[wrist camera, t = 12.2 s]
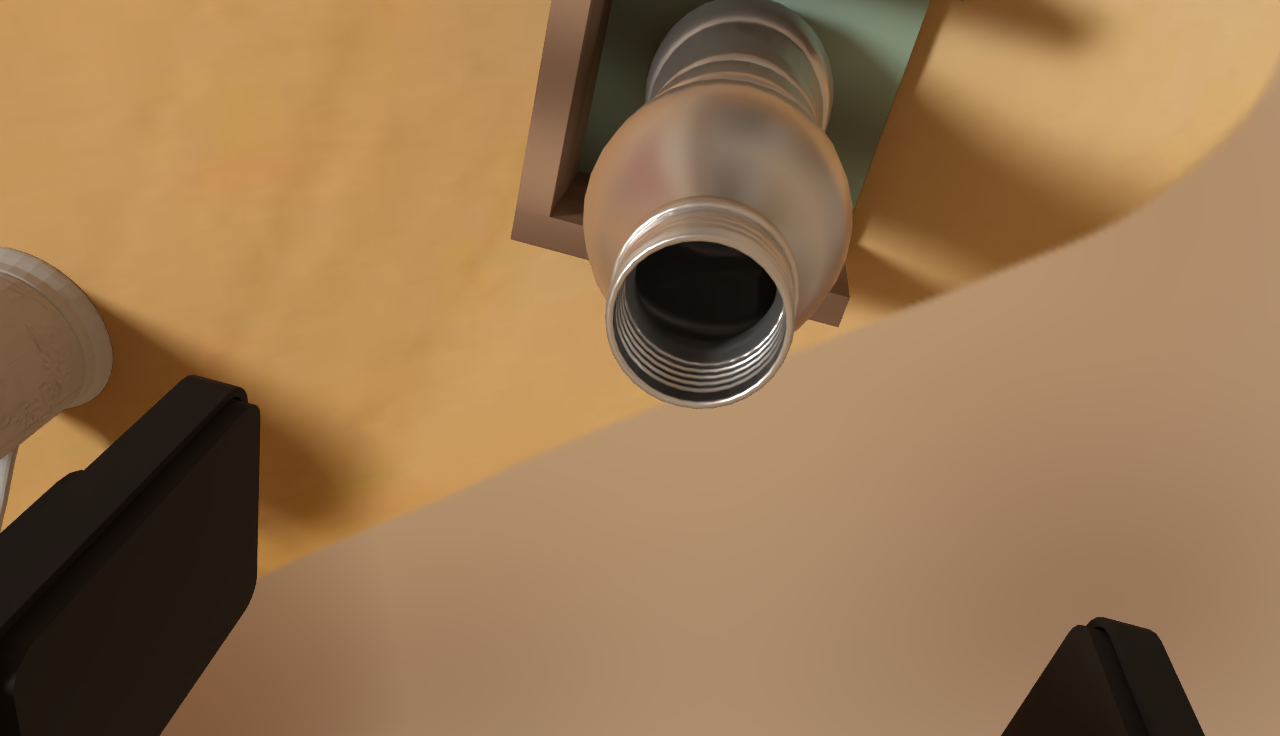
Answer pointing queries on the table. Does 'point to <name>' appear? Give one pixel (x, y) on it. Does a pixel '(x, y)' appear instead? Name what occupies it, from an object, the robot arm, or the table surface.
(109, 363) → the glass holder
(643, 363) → the plastic bottle
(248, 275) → the table surface
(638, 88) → the u rest
